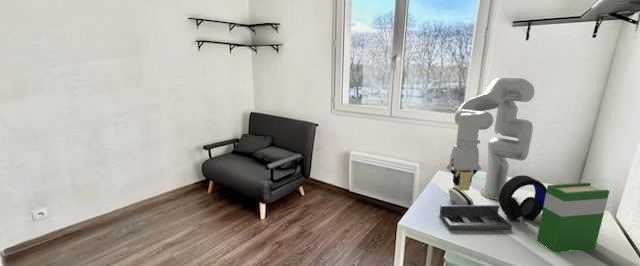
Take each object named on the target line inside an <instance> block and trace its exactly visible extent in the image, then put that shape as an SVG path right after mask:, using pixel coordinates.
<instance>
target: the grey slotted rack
mask: <svg viewBox="0 0 640 266" xmlns="http://www.w3.org/2000/svg"><path fill="white" fill-rule="evenodd" d="M499 209H500V206H499V205H497V204H495V205H489V204H487V205H486V204H485V205H483V204H482V205H481V204H479V205H476V204H475V205H457V204H453V205H452V204H449V205H448V204H444V205H443V204H440V206H439V216H438V218H440V220H441V221H442V222H443V224H444V226H445V227H446V228H447V229H448V230H449V231H459V232H461V231H469V232H470V231H472V232H473V231H478V232H479V231H480V232H482V231H485V232H488V231H489V232H492V231H494V232H496V231H495V230H511V231H512V227H513V225H512V224H511V223H510V222H509V221H508V220H506V219H505V218H504V217H503V216H502V215H500V214H499V211H500V210H499ZM475 220H478V221H477V222H471V221H475ZM493 220H494V222H492V221H493ZM452 221H458V222H452ZM497 221H498V222H497Z"/></svg>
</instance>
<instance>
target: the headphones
mask: <svg viewBox="0 0 640 266" xmlns="http://www.w3.org/2000/svg"><path fill="white" fill-rule="evenodd" d="M525 186H533V187H534V196H528V197H526V198H525V199H524V200H522V202H521V203H520V204H519V202H518V201H517V200H516V199H515V197H513V195H514V194H515V193H516V192H517V191H518V190H519V189H521V188H523V187H525ZM546 187H547V186H545V185H544V184H543V182H541V181H539V180H538V179H535V178H534V177H531V176H529V175H516V176H514V177H512V178H510V179H508V180H507V181H506V183H505V184H504V186H503V187H502V189H501V191H500V195H499V200H498V202H499V205H500V206H499V207H500V209H501V211H502V212H503V214H504V215H505V216H506V217H508V218H509V219H510V220H511V221H513V222H514V221H515V222H517V220H518V219H519V218H521V217H522V218H524V219H526V220H530V221H535V220H536V218H537V217H538V216H540V214H542V212H543V207H544V201H545V196H546V191H547V188H546Z"/></svg>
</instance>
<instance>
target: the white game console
mask: <svg viewBox="0 0 640 266" xmlns="http://www.w3.org/2000/svg"><path fill="white" fill-rule="evenodd" d="M448 194H449V200H450V201H452V202H453V203H455V204H454V205H474V202H473V199H472V197H470V196H469V194H468V193H466V192H465V190H458V189H457V188H455V187H454V186H452V188H449V189H448Z"/></svg>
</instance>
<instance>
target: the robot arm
mask: <svg viewBox="0 0 640 266" xmlns="http://www.w3.org/2000/svg"><path fill="white" fill-rule="evenodd" d="M534 95H535V86H534V85H533V84H532V83H531V82H530V81H528V80H527V79H525V78H522V77H498V78H495V79H493V80H492V81H491V82H490V84H489V85H487V88H486V89H485V90H484V91H483V93H482V94H479V95H477V96H475V97H473V98H470V99H468V100H466V101H464V102H463V103H461V106H460V107H459V108H458V109H457V110H456V113H455V115H454V122H455V124H456V125H457V134H456V144H454V145H453V147H452V151H451V153H450V158H449V164H448V165H446V167H445V169H446V170H447V171H448V172H450V173H451V174H452V175H453V177H452V182H453V185H454V184H455V185H456V186H458V183H459V177H458V175H459V172H460V170H469V171H470V172H471V180H470V185H471V184H472V179H473V177H474V175H475V174H477V173H478V172H479V171H481V170H482V167H481V166H480V164H479V161H480V160H479V159H480V158H479V157H480V155H479V154H480V153H479V147H478V145H479V144H481V140H479V132H480V131H481V130H482V131H484V130H487V129H489V128H491V126H492V125H493V123H494V116H493V115H492V113H490V112H488V111H492V110H495V109H496V110H497V111H496V116H495V117H496V118H495V123H494V133H495V134H496V135H498V136H503V137H507V138H502V137H493V138H491V139H489V141H488V143H487V153H488V155H487V166H486V173H485V180H484V187H483V188H481V189H480V194H481V195H482V196H484V197H485V198H487V199H490V200H495V201H499V195H500V191H501V189H502V187H503V186H504V184H505V183H506V182H507V181H508V172H509V169H510V168H509V167H510V166H509V162H508V160H507V159H509V160H510V159H511V160H514V161H520V162H521V161H526V159H527V158H528V156H529V152H530V147H531V142H532V137H533V127H534V126H533V123H532V121H530V120H528V119H523V118H517V115H518V106H517V104H516V102H519V103H521V102H524V103H527V102H530V101H531V100H532V99H533V98H534ZM509 138H510V139H509ZM511 138H516V139H517V140H514V139H511ZM452 168H453V169H452Z"/></svg>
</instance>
